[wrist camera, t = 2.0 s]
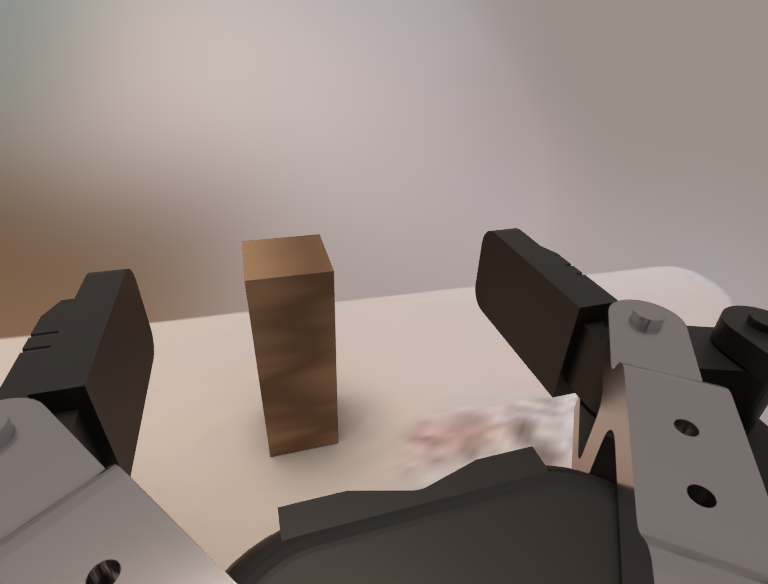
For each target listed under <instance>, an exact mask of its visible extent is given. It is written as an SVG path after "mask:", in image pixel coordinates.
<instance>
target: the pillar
mask: <svg viewBox="0 0 768 584" xmlns="http://www.w3.org/2000/svg"><path fill="white" fill-rule="evenodd" d="M242 251H243V266H244V279H245V287H246V293H247V300H248V307H249V314H250V321H251V328H252V334H253V341H254V348H255V355H256V362H257V368H258V375H259V382H260V389H261V396H262V402H263V409H264V416H265V423H266V429H267V436H268V443H269V450H270V457H273V456H277V455H282V454H287V453H292V452H297V451H302V450H306V449H311V448H316V447H321V446H326V445H330V444H335V443H338V418H337V378H336V339H335V300H334V270H333V268H332V265H331V263H330V260H329V258H328V255H327V253H326V250H325V248H324V245H323V243H322V240H321V237H320V235H319V234H318V235H308V236H296V237H285V238H275V239H262V240H251V241H242Z"/></svg>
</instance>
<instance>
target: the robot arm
mask: <svg viewBox="0 0 768 584" xmlns="http://www.w3.org/2000/svg"><path fill="white" fill-rule="evenodd" d="M475 291H476V299H477V302H478V305H479V307H480V309H481V310H482V311H483V313H484V314H485V315H486V316H487V318H488V319H489V320H490V321H491V323H492V324H493V325H494V326H495V327H496V329H497V330H498V331H499V332H500V334H501V335H502V336H503V337H504V338H505V340H506V341H507V342H508V343H509V345H510V346H511V347H512V348H513V349H514V351H515V352H516V353H517V354H518V356H519V357H520V358H521V359H522V360H523V362H524V363H525V364H526V365H527V367H528V368H529V369H530V370H531V371H532V373H533V374H534V375H535V376H536V378H537V379H538V380H539V381H540V383H541V384H542V385H543V386H544V387H545V389H546V390H547V391H548V392H549V394H550V395H551V396H552V397H557V396H562V395H566V394H571V393H576V394H577V395H578V400H577V402H576V405H575V410H574V430H573V452H572V469H570V468H565V467H557V466H548V465H545V464H544V463H543V461H542V460H541V458H540V457H539V455H538V454H537V453H536V451H535V450H534V448H533V447H528V448H523V449H519V450H515V451H511V452H507V453H503V454H498V455H494V456H490V457H486V458H482V459H478V460H475V461H473V462H471V463H470V464H468V465H466V466H464V467H462V468H461V469H459V470H457V471H455V472H453V473H452V474H450V475H448V476H446V477H444V478H442V479H441V480H439V481H437V482H435V483H433V484H432V485H430V486H428V487H426V488H424V489H421V490H414V491H345V492H341V493H336V494H332V495H328V496H324V497H320V498H316V499H312V500H307V501H303V502H299V503H295V504H291V505H287V506H282V507H278V514H279V523H280V530H279V531H278V532H276V533H274V534H272V535H270V536H268V537H267V538H265V539H264V540H262V541H261V542H259V543H258V544H256V545H255V546H253V547H252V548H250V549H249V550H248V551H247V552H245V553H244V554H243V555H242V556H241V557H240V558H238V559H237V560H236V561H235V562H234V563H233V564H232V565H231V566H230V567H229V568H228V569H227V570H226V571H224V570H223V569H222V568H221V567H220V566H219V565H218V564H217V563H216V562H215V561H214V560H213V559H212V558H211V557H210V556H209V555H208V554H207V553H206V552H205V551H204V550H203V549H202V548H201V547H200V546H199V545H198V544H197V543H196V542H195V541H194V540H193V539H192V538H191V537H190V536H189V535H188V534H187V533H186V532H185V531H184V530H183V529H182V528H181V527H180V526H179V525H178V524H177V523H176V522H175V521H174V520H173V519H172V518H171V517H170V516H169V515H168V514H167V513H166V512H165V511H164V510H163V509H162V508H161V507H160V506H159V505H158V504H157V503H156V502H155V501H154V500H153V499H152V498H151V497H150V496H149V495H148V494H147V493H146V492H145V491H144V490H143V489H142V488H141V487H140V486H139V485H138V484H137V483H136V482H135V481H134V480H133V479H132V478H131V477H130V476H131V471H132V465H133V460H134V455H135V450H136V445H137V440H138V435H139V430H140V425H141V420H142V414H143V409H144V404H145V399H146V394H147V389H148V384H149V379H150V374H151V369H152V363H153V358H154V344H153V336H152V332H151V328H150V325H149V321H148V318H147V315H146V312H145V308H144V305H143V302H142V299H141V296H140V292H139V289H138V285H137V282H136V279H135V277H134V274H133V273H132V271H131V270H130V269H122V270H113V271H103V272H93V273H88V274H87V275H86V277H85V279H84V281H83V283H82V285H81V287H80V289H79V291H78V293H77V295H76V297H75V299H69V300H61V301H60V302H59V303H58V304H56V305H55V306H54V307H53V308H51V309H50V310H49V311H47V312H46V313H45V314H44V315H42V316H41V317H40V319H39V321H38V323H37V325H36V326H35V328H34V330H33V331H32V333H31V338H28V340H27V342H26V344H25V345H24V347H23V349H22V350H23V353H20V354H19V356H18V358H17V359H16V361H15V363H14V365H13V366H12V368H11V370H10V372H9V373H8V375H7V377H6V379H5V380H4V382H3V384H2V386H1V387H0V584H768V426H767V425H766V424H765V423H763V422H762V421H761V420H760V419H759V418H760V416H761V415H762V413H763V412H764V410H765V408H766V407H767V405H768V311H767V310H763V309H759V308H755V307H748V306H731V307H728V308H725V309H724V310H723V312H722V313H721V315H720V317H719V319H718V321H717V323H716V325H715V327H697V326H686V324H685V323H684V322H683V320H682V319H681V318H680V317H679V316H677V315H676V314H675V313H673V312H671V311H670V310H668V309H666V308H664V307H661V306H659V305H656V304H653V303H650V302H645V301H640V300H620V301H618V300H617V299H615V298H614V297H613V296H611V295H610V294H609V293H608V292H606V291H605V290H604V289H602V288H601V287H600V286H599V285H597V284H596V283H595V282H593V281H592V280H591V279H590V278H588V277H587V276H586V275H582V272H580V271H579V270H578V269H577V268H575V267H574V266H571V264H570V263H569V262H567V261H566V260H565V259H564V258H562V257H561V256H560V255H559V254H557V253H555V252H553V251H551V250H548V249H546V248H543V247H541V246H540V245H538V244H537V243H536V242H535V241H534V240H532V239H531V238H530V237H529V236H527V235H526V234H525V233H523V232H522V231H521V230H519V229H517V228H514V229H504V230H496V231H488V232H487V233H486V234H485V235H484V237H483V242H482V247H481V254H480V260H479V267H478V273H477V280H476V287H475Z"/></svg>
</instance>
